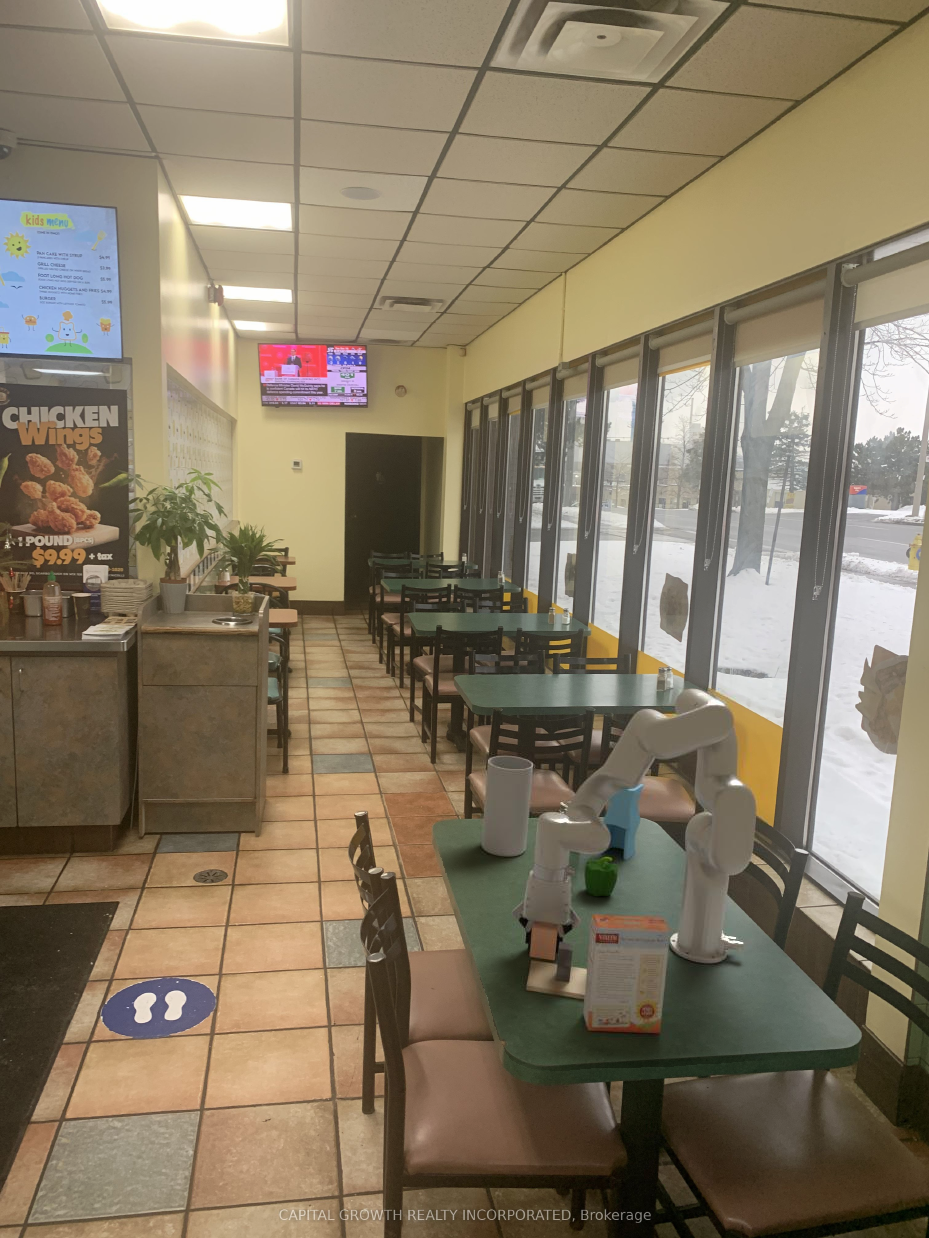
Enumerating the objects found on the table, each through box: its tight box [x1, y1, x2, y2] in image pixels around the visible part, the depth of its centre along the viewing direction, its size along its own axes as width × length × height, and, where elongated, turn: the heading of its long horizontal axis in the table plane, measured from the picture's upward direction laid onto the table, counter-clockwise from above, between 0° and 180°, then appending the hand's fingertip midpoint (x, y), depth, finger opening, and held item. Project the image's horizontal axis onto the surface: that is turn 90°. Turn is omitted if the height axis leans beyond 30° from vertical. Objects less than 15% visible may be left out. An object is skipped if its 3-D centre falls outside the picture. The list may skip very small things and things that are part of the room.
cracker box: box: [582, 914, 671, 1034], centre depth 169 cm, size 14×6×21 cm, turn 92°
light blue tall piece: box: [601, 783, 644, 861], centre depth 253 cm, size 8×8×20 cm
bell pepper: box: [583, 856, 619, 897], centre depth 226 cm, size 8×8×10 cm
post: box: [525, 942, 587, 1000], centre depth 183 cm, size 14×10×8 cm
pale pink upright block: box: [529, 921, 558, 961], centre depth 195 cm, size 5×5×7 cm
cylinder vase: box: [481, 755, 534, 857], centre depth 249 cm, size 12×12×25 cm
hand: (543, 947), depth 195 cm, fingers closed on pale pink upright block, 5 cm apart
